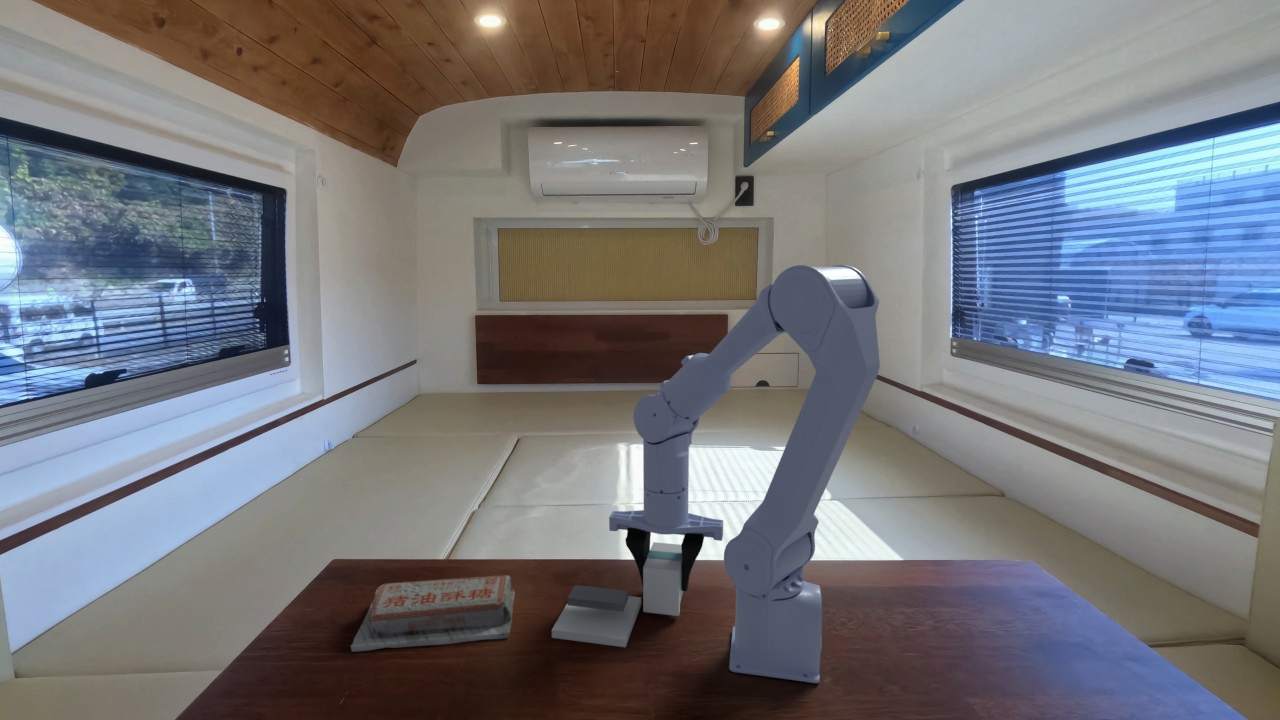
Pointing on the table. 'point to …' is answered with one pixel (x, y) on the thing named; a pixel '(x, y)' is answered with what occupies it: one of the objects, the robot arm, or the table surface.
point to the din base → (597, 624)
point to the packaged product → (437, 613)
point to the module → (663, 579)
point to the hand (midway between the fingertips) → (665, 585)
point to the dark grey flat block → (598, 598)
